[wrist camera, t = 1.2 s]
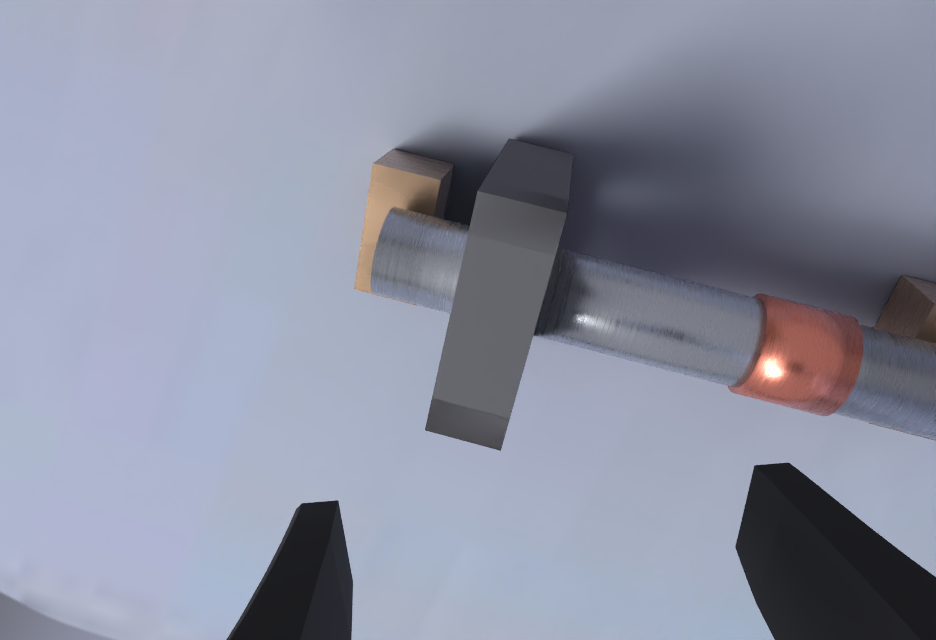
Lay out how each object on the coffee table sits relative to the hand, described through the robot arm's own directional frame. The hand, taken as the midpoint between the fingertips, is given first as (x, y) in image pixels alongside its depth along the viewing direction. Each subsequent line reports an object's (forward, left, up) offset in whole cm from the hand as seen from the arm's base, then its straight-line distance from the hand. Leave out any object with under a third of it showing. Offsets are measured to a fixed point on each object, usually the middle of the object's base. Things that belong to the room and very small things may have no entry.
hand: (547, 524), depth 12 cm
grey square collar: (+2, -1, -12) cm, 12 cm away
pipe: (-3, -1, -12) cm, 12 cm away
